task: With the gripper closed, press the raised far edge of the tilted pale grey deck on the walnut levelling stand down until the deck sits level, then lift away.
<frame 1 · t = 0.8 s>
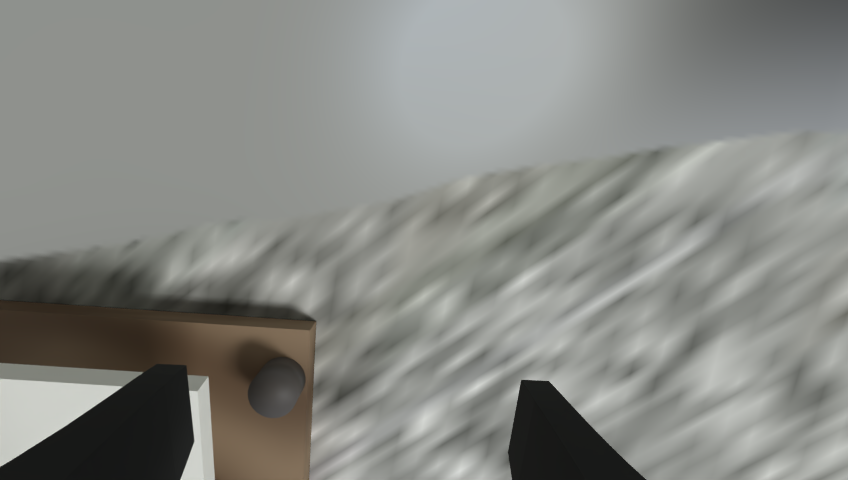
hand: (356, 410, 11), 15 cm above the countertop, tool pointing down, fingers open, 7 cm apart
levelling stand: (156, 476, 27), on the countertop
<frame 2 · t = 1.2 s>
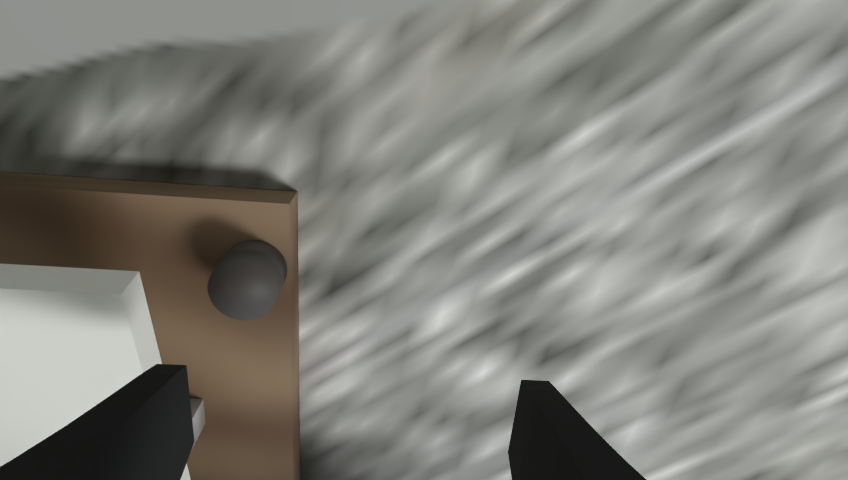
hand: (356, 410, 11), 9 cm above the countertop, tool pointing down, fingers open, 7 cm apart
levelling stand: (108, 382, 22), on the countertop
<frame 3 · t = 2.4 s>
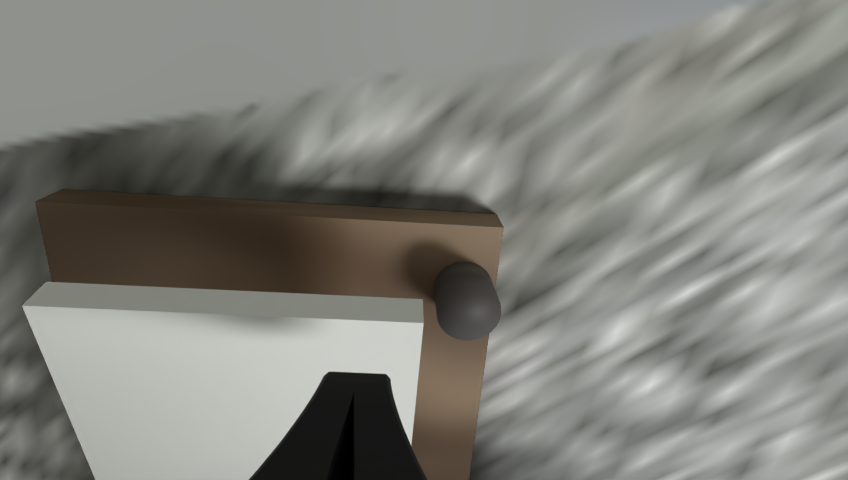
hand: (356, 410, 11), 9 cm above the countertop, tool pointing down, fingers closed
levelling stand: (290, 398, 23), on the countertop
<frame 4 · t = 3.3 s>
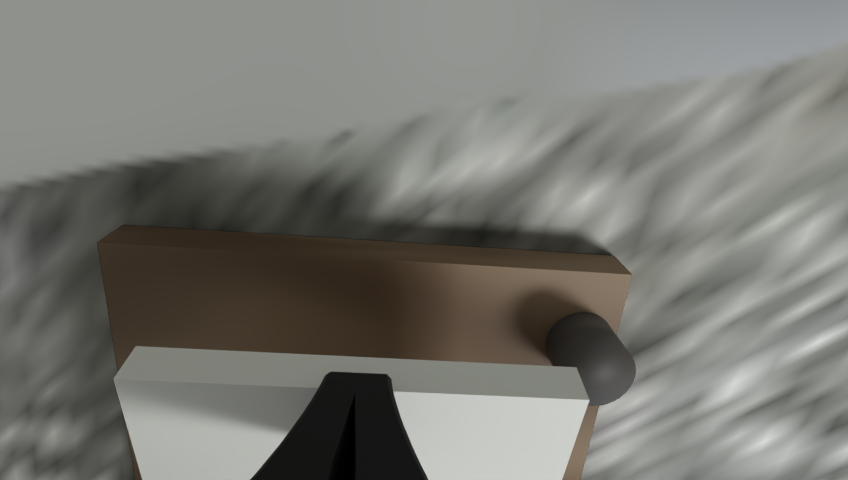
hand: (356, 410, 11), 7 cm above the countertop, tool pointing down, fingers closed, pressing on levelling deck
levelling stand: (364, 454, 20), on the countertop
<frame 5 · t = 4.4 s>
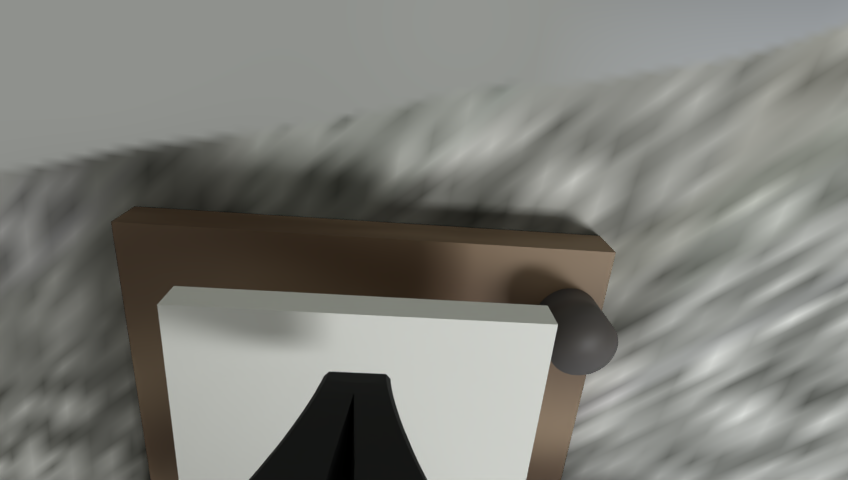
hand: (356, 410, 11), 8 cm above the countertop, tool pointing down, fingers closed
levelling stand: (364, 427, 21), on the countertop
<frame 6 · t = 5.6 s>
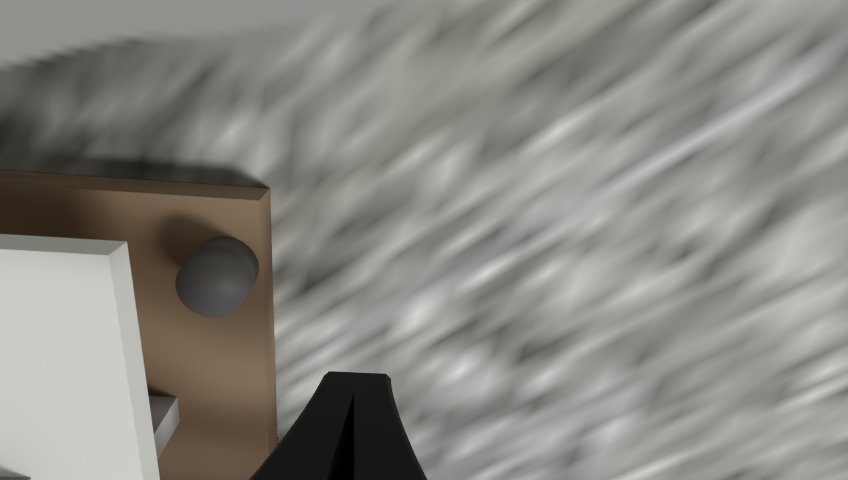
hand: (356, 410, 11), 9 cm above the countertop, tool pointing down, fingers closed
levelling stand: (83, 380, 22), on the countertop
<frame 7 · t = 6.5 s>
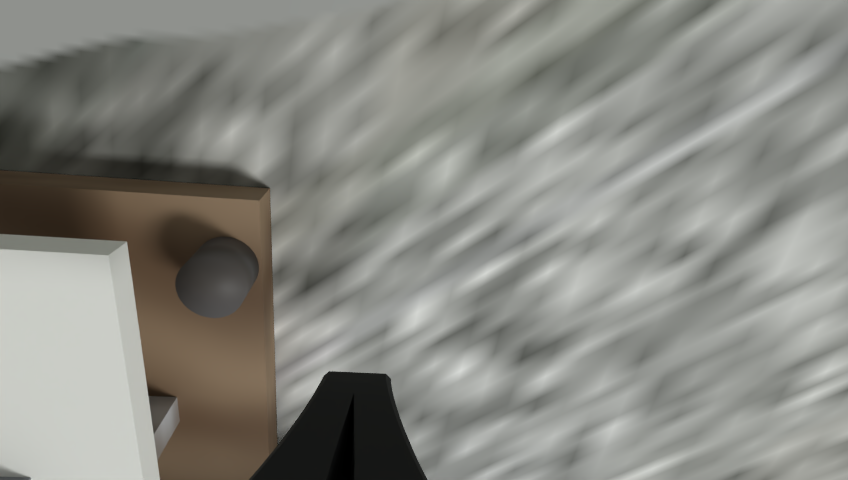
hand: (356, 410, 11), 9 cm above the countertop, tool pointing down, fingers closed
levelling stand: (83, 380, 22), on the countertop
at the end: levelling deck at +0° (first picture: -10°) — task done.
